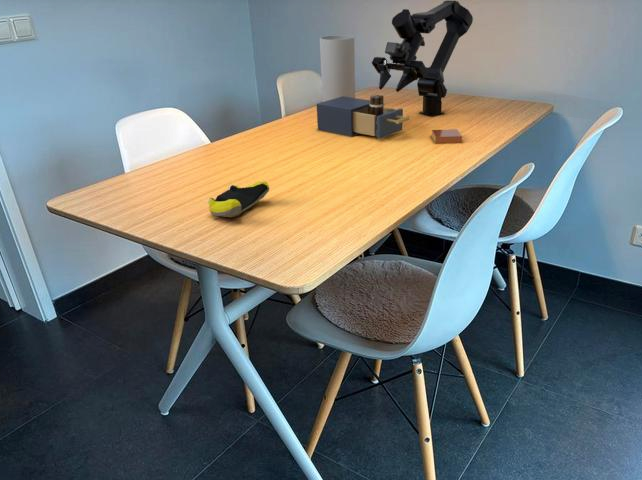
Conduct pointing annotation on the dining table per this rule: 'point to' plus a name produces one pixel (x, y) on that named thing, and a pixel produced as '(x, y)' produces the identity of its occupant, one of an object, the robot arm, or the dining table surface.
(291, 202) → the dining table surface
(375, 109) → the bundle
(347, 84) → the cylinder vase
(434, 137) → the stand
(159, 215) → the dining table surface
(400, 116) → the drawer
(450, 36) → the robot arm
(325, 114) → the cabinet
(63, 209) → the dining table surface
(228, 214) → the black and yellow sneaker
